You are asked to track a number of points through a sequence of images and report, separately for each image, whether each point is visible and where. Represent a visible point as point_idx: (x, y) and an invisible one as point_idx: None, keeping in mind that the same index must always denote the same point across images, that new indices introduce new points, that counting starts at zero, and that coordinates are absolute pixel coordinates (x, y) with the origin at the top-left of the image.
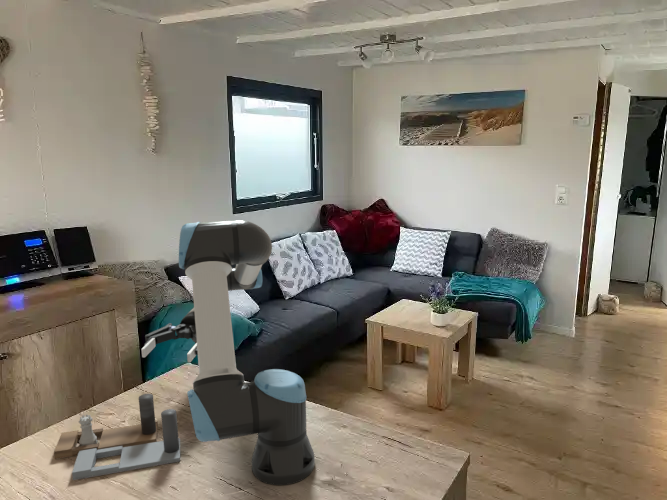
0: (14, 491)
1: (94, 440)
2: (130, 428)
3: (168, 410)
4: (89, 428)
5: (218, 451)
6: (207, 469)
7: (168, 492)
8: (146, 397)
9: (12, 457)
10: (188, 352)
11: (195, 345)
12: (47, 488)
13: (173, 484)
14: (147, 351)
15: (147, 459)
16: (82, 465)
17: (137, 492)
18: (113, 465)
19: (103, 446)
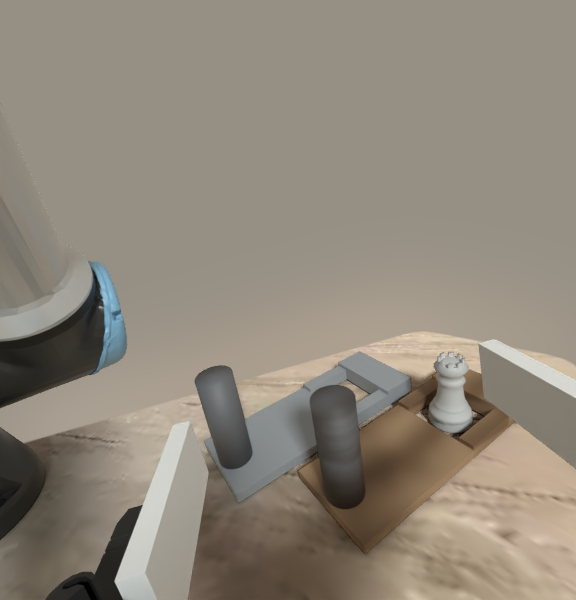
0: (416, 334)
1: (430, 411)
2: (409, 481)
3: (218, 380)
4: (438, 382)
5: (124, 507)
6: (142, 451)
7: (197, 396)
8: (327, 398)
9: (532, 357)
10: (184, 431)
11: (147, 517)
12: (380, 348)
13: (196, 408)
14: (511, 399)
15: (268, 416)
16: (360, 362)
17: (245, 382)
18: (314, 382)
19: (393, 411)
